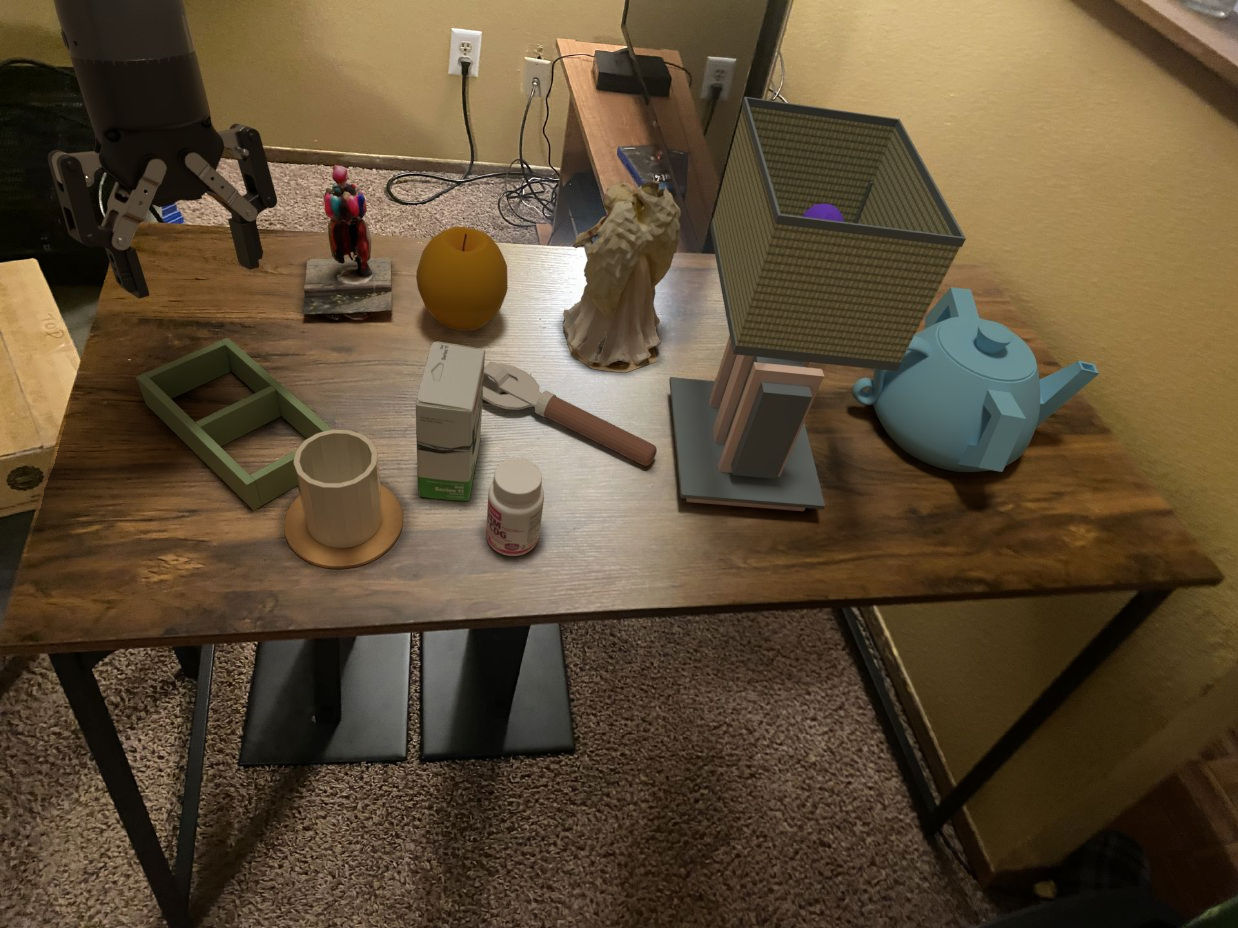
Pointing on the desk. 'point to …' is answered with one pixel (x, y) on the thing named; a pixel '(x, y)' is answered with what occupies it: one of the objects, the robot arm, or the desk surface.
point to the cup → (339, 487)
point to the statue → (347, 260)
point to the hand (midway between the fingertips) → (197, 280)
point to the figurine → (623, 278)
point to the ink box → (449, 420)
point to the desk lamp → (806, 290)
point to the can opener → (559, 411)
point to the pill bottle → (515, 507)
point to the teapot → (967, 390)
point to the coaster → (348, 556)
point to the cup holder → (230, 416)
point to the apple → (462, 278)
